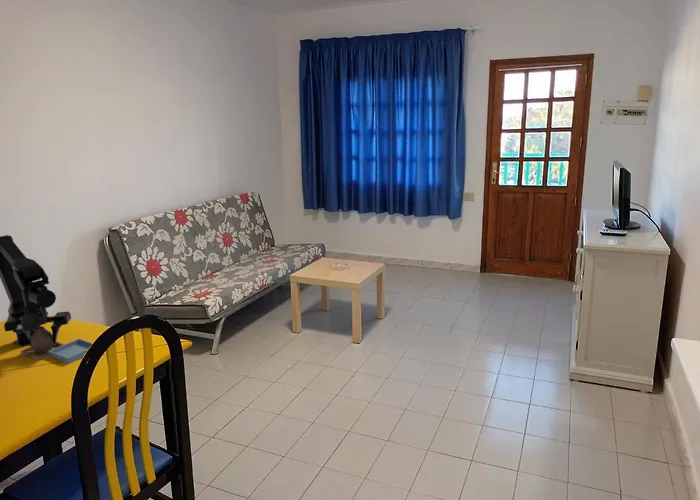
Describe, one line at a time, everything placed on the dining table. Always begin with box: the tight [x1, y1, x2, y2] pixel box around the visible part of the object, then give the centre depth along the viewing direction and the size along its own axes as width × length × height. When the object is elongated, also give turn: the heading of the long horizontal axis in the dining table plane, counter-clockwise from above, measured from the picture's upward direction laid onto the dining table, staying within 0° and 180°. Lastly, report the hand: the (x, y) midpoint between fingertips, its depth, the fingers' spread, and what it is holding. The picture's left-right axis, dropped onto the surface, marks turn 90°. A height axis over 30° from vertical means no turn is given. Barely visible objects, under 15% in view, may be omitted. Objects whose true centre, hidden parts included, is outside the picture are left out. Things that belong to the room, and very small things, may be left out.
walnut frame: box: [20, 341, 65, 361], centre depth 176 cm, size 10×10×1 cm
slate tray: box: [48, 337, 93, 365], centre depth 174 cm, size 11×11×2 cm
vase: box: [30, 325, 55, 355], centre depth 175 cm, size 7×7×9 cm
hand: (43, 344), depth 175 cm, fingers open, 7 cm apart
